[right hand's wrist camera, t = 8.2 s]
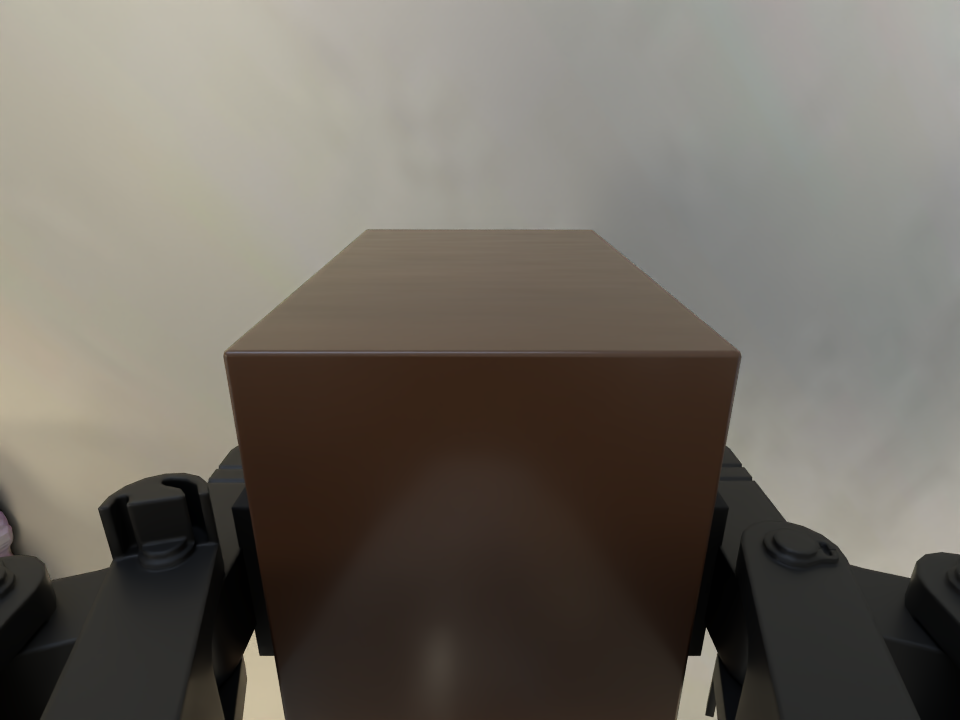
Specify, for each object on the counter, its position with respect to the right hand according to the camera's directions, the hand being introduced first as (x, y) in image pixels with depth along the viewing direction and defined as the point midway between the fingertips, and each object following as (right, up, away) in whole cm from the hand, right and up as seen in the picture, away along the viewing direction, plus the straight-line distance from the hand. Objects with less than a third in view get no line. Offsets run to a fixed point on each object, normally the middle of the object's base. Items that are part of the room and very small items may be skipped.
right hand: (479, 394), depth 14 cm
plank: (0, -11, +5) cm, 12 cm away
